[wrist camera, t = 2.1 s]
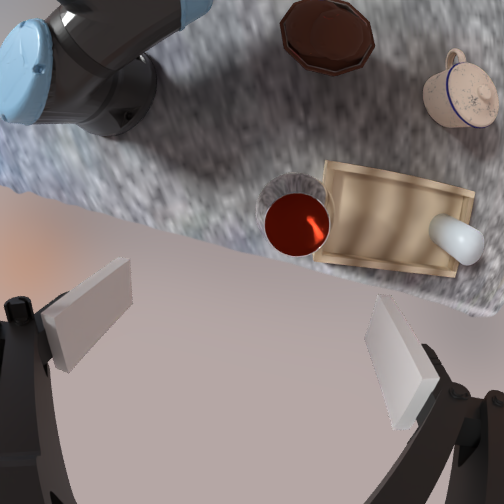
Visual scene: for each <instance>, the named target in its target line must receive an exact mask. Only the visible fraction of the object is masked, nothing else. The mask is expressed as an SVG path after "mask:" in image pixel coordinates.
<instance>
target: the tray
mask: <svg viewBox="0 0 504 504" xmlns="http://www.w3.org/2000/svg"><path fill="white" fill-rule="evenodd" d="M322 184H324V186H325V187H326V188H327V189H328V191H329V192H330V194H331V196H332V198H333V201H334V206H335V221H334V225H333V228H332V231H331V233H330V235H329V237H328V238H327V240H326V242H325V243H324V244H323V246H322V247H321V248H320V249H319V250H317V251H316V252H314V253H312V255H313V260H314V261H315V262H324V263H333V264H341V265H350V266H358V267H367V268H376V269H384V270H393V271H402V272H410V273H419V274H428V275H436V276H445V277H454V278H455V276H456V272H457V269H458V265H459V261H457V260H456V259H455V258H454V257H452V256H451V255H450V254H448V253H447V252H446V251H444V250H443V249H442V248H440V247H439V246H438V245H436V244H435V243H434V242H433V241H432V240H431V239H430V236H429V225H430V222H431V221H432V219H433V218H434V217H435V216H436V215H438V214H441V213H445V214H448V215H450V216H452V217H454V218H456V219H458V220H460V221H462V222H464V223H465V224H467V225H469V222H470V217H471V212H472V207H473V201H474V196H475V192H474V191H470V190H467V189H464V188H460V187H456V186H453V185H449V184H445V183H441V182H437V181H433V180H428V179H424V178H420V177H415V176H411V175H406V174H401V173H397V172H392V171H387V170H381V169H376V168H371V167H365V166H359V165H354V164H347V163H341V162H335V161H328V160H325V165H324V173H323V181H322Z"/></svg>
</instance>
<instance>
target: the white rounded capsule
mask: <svg viewBox="0 0 504 504" xmlns="http://www.w3.org/2000/svg"><path fill="white" fill-rule="evenodd" d="M429 236H430V239H431V240H432V241H433V242H434V243H435V244H436V245H438V246H439V247H440V248H442V249H443V250H444V251H446V252H447V253H448V254H450V255H451V256H452V257H454V258H455V259H456V260H457V261H459V262H460V263H461V264H463V265H472V264H474V263H475V262H477V261H478V259H479V258H480V257H481V255H482V253H483V250H484V238H483V235H482V233H481V232H480V231H479V230H477V229H475V228H473V227H471V226H469V225H467V224H465V223H464V222H462V221H460V220H458V219H456V218H454V217H452V216H450V215H448V214H445V213H441V214H438V215H436V216H435V217H434V218H433V219H432V221H431V222H430V225H429Z"/></svg>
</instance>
